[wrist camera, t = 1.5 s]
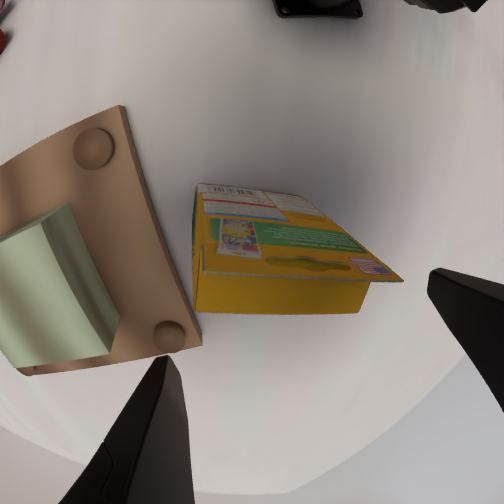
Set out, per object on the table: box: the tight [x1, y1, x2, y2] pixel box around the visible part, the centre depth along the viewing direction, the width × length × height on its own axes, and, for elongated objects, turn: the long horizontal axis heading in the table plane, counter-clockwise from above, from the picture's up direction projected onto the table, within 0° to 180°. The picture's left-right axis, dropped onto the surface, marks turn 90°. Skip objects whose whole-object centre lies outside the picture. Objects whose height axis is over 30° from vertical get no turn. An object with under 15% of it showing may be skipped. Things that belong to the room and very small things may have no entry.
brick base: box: [0, 105, 202, 376], centre depth 16 cm, size 20×18×6 cm
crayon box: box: [192, 184, 404, 315], centre depth 14 cm, size 7×3×12 cm, turn 80°
